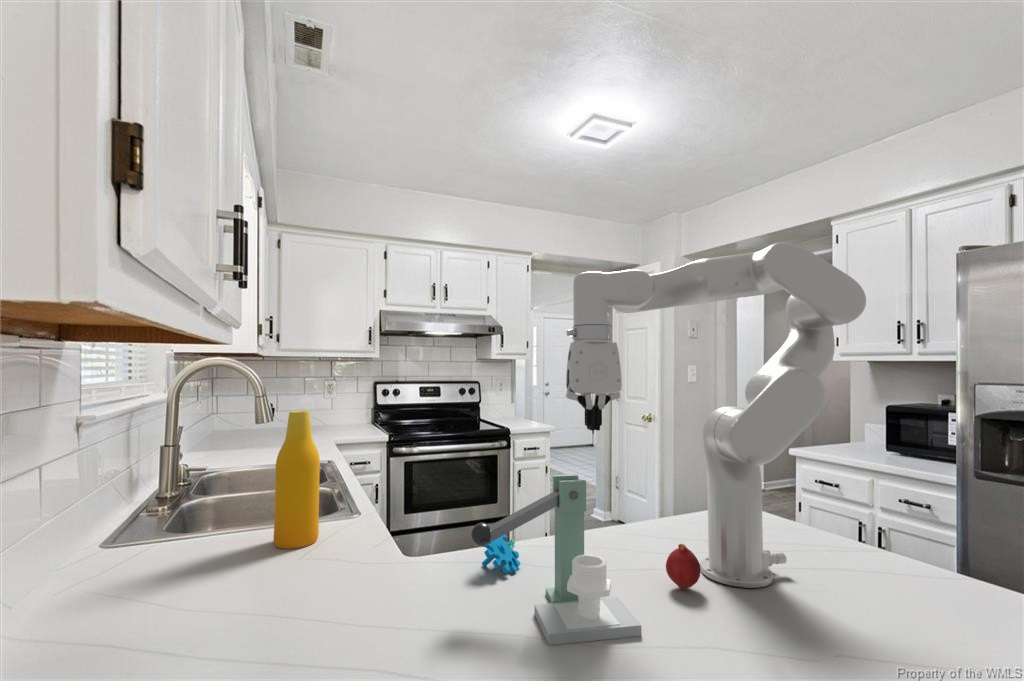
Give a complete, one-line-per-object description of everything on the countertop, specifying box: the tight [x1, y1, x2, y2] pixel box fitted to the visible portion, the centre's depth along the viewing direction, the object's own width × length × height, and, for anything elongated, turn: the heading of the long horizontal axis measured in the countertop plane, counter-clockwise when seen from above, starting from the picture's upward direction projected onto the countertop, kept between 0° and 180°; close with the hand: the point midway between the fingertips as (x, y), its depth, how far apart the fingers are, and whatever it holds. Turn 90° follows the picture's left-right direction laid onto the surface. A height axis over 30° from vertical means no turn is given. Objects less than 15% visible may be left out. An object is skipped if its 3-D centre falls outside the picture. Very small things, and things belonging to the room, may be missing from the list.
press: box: [533, 474, 642, 646], centre depth 80 cm, size 14×16×20 cm
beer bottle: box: [273, 410, 321, 550], centre depth 112 cm, size 9×9×29 cm
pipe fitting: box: [567, 554, 612, 619], centre depth 77 cm, size 6×7×8 cm
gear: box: [481, 534, 521, 574], centre depth 99 cm, size 11×6×10 cm
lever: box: [470, 489, 559, 548], centre depth 84 cm, size 20×4×4 cm, turn 101°
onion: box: [665, 543, 702, 591], centre depth 89 cm, size 6×6×8 cm
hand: (593, 429), depth 97 cm, fingers closed
